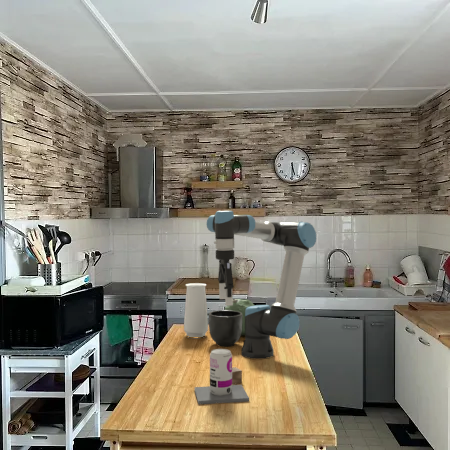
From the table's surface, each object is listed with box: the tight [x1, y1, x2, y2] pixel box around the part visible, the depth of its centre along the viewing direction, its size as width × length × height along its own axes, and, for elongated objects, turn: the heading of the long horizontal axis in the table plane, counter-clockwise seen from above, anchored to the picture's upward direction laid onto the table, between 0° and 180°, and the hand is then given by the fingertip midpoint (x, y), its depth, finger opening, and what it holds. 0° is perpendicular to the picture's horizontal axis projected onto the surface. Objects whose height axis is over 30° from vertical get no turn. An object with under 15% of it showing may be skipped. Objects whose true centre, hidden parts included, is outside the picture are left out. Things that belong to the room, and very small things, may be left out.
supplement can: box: [209, 348, 233, 396], centre depth 182 cm, size 8×8×15 cm
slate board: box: [194, 384, 250, 405], centre depth 182 cm, size 18×14×1 cm
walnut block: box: [232, 366, 243, 385], centre depth 197 cm, size 5×5×5 cm
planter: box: [208, 309, 243, 348], centre depth 253 cm, size 17×17×16 cm
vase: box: [183, 282, 209, 338], centre depth 271 cm, size 13×13×28 cm
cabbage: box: [224, 298, 255, 336], centre depth 274 cm, size 16×19×20 cm
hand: (225, 302), depth 201 cm, fingers open, 13 cm apart
